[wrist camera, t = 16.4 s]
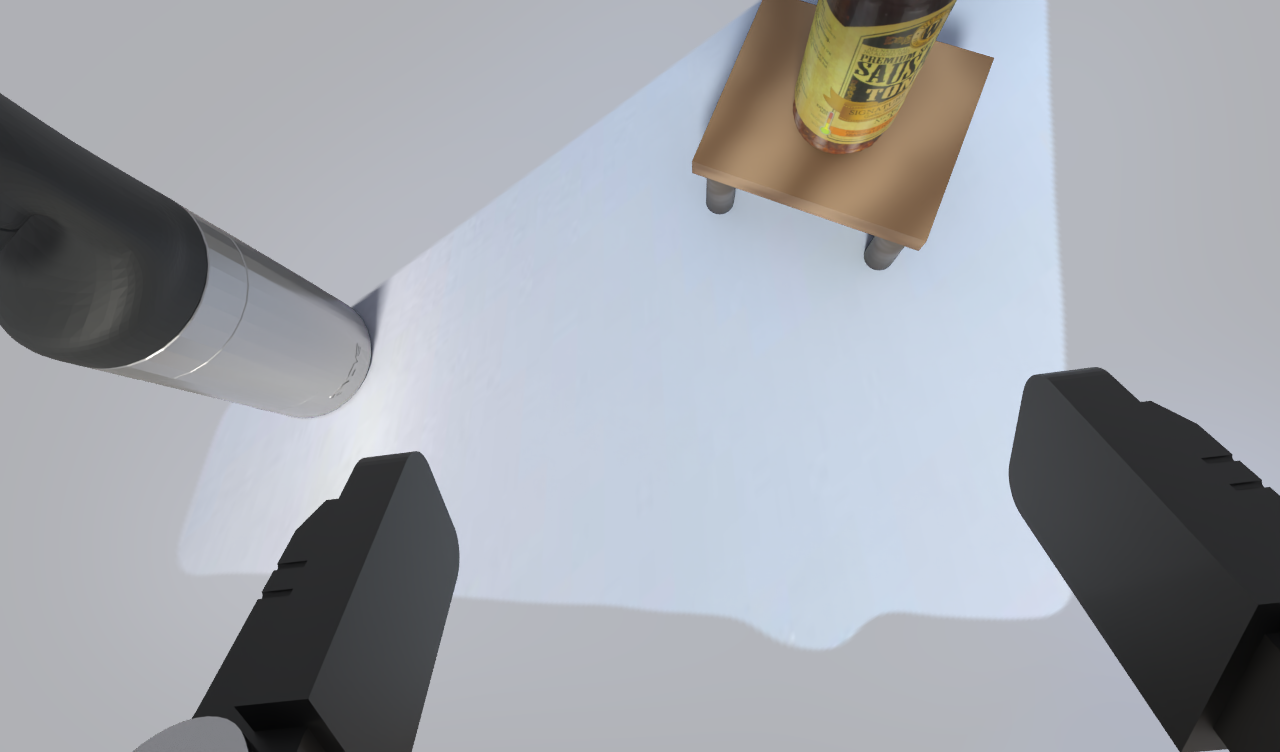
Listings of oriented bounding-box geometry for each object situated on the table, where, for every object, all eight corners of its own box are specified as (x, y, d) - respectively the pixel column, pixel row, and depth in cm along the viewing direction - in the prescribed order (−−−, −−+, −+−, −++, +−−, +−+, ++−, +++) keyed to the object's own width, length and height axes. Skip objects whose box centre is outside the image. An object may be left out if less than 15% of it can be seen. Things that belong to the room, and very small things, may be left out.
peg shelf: (693, 212, 51) (692, 161, 43) (757, 63, 53) (766, -10, 45) (892, 282, 48) (926, 241, 41) (951, 124, 50) (994, 57, 43)
